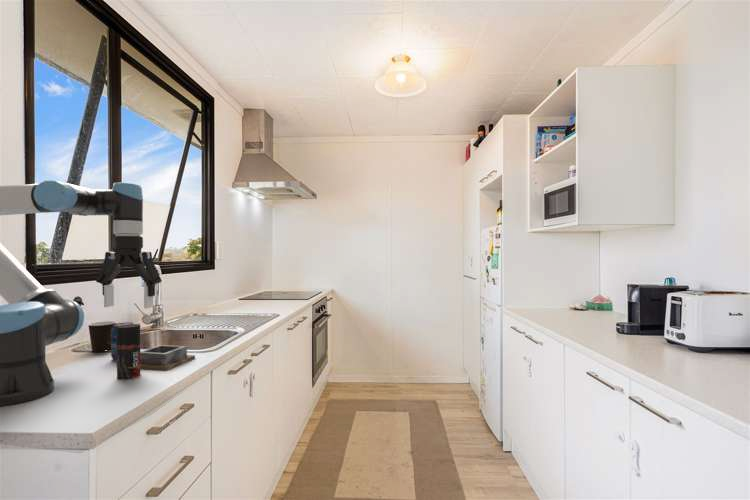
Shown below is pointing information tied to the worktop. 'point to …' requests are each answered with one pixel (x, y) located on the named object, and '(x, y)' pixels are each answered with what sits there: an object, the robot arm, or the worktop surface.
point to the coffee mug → (101, 335)
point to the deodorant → (128, 351)
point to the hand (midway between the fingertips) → (128, 307)
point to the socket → (164, 357)
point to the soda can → (115, 340)
